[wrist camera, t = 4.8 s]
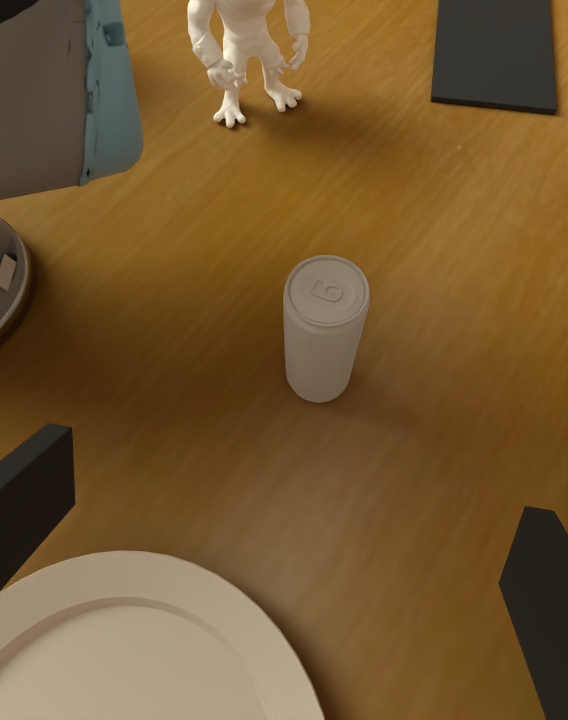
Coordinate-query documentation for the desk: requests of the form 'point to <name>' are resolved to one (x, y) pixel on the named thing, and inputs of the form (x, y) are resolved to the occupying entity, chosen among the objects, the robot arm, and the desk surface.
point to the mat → (495, 55)
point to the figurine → (247, 48)
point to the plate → (143, 646)
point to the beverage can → (323, 325)
